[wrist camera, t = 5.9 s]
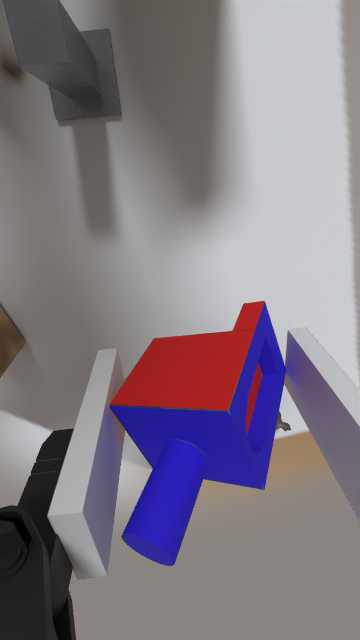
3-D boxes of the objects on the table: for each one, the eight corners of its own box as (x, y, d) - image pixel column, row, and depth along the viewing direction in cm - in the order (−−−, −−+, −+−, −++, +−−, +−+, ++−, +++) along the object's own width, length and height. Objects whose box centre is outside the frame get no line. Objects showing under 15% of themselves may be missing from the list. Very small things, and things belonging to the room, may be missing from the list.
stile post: (38, 37, 23) (-39, -38, 14) (109, 30, 23) (77, -49, 14) (57, 120, 25) (2, 101, 16) (121, 114, 25) (101, 91, 16)
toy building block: (171, 313, 14) (50, 489, 8) (265, 300, 12) (192, 527, 6) (199, 372, 16) (115, 553, 10) (287, 370, 13) (245, 602, 8)
